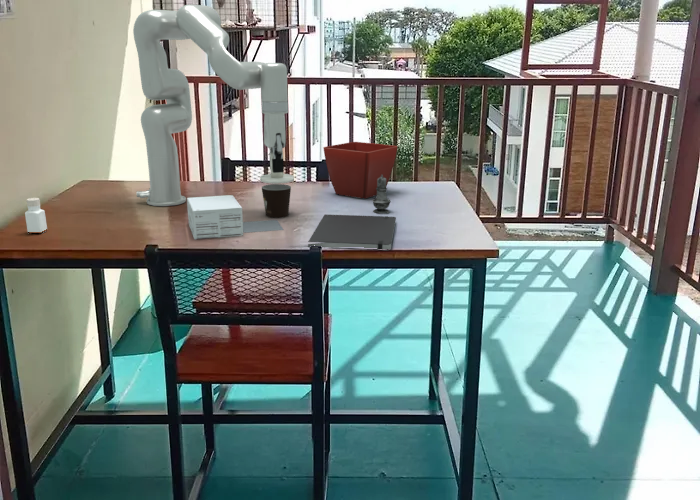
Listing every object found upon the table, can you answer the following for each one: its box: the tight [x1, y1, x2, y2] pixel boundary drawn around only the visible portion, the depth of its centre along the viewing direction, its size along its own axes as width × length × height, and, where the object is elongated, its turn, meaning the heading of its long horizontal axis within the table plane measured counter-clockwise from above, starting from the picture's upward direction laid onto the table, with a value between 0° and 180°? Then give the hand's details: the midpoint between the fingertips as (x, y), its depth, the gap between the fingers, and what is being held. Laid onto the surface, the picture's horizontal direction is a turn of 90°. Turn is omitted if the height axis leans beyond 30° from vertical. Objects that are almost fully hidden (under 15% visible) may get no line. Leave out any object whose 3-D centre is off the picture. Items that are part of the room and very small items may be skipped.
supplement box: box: [186, 194, 244, 240], centre depth 177 cm, size 17×13×9 cm
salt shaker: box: [24, 197, 48, 233], centre depth 178 cm, size 4×4×10 cm
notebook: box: [307, 214, 397, 250], centre depth 180 cm, size 22×2×28 cm
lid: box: [259, 152, 295, 184], centre depth 190 cm, size 10×10×8 cm
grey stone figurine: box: [371, 175, 391, 215], centre depth 202 cm, size 6×6×12 cm
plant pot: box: [322, 141, 398, 199], centre depth 225 cm, size 19×19×17 cm
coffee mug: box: [261, 183, 292, 219], centre depth 194 cm, size 12×9×10 cm
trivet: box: [243, 219, 285, 234], centre depth 182 cm, size 11×11×2 cm
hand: (276, 170), depth 191 cm, fingers closed on lid, 3 cm apart
